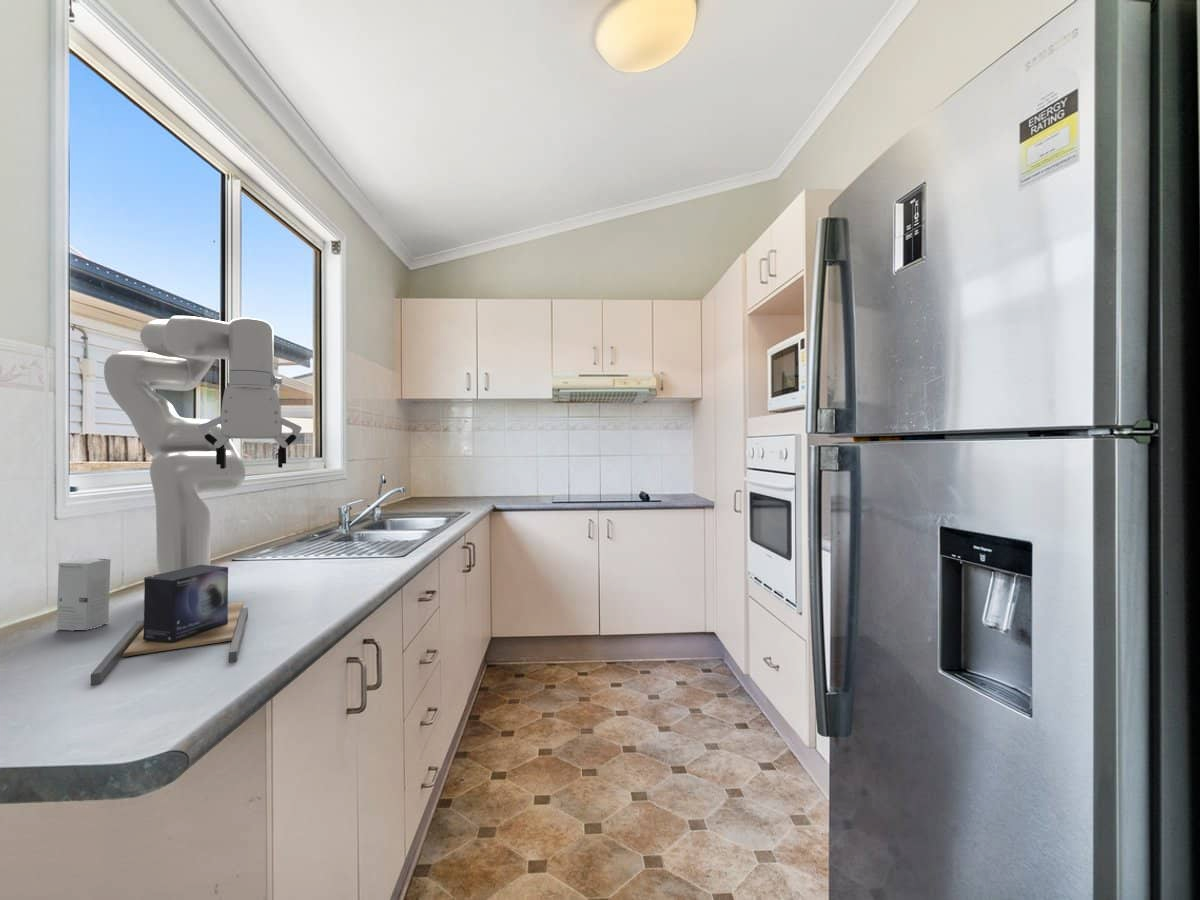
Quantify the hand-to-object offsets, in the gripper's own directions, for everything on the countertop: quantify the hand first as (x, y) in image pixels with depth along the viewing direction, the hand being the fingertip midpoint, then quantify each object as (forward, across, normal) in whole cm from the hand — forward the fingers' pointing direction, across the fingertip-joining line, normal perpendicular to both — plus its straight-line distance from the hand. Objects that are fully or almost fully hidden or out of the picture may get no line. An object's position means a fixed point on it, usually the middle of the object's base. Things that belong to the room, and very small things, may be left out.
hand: (252, 467), depth 109 cm
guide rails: (+28, +9, +17) cm, 34 cm away
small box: (+28, +9, +13) cm, 32 cm away
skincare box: (+28, +26, -3) cm, 39 cm away
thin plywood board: (+28, +9, +8) cm, 31 cm away
